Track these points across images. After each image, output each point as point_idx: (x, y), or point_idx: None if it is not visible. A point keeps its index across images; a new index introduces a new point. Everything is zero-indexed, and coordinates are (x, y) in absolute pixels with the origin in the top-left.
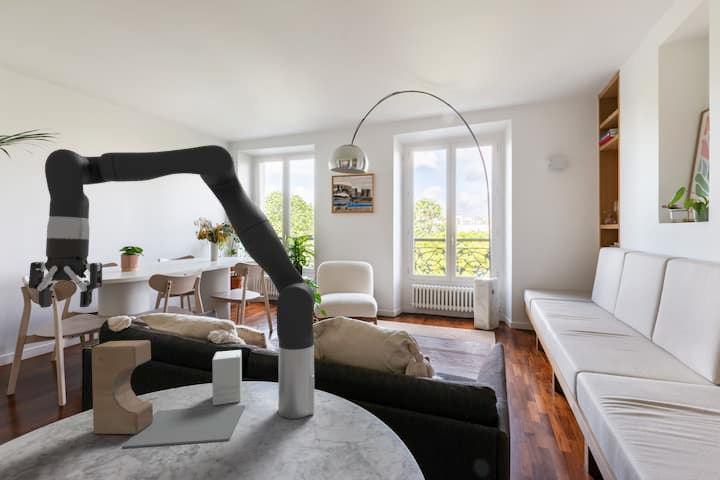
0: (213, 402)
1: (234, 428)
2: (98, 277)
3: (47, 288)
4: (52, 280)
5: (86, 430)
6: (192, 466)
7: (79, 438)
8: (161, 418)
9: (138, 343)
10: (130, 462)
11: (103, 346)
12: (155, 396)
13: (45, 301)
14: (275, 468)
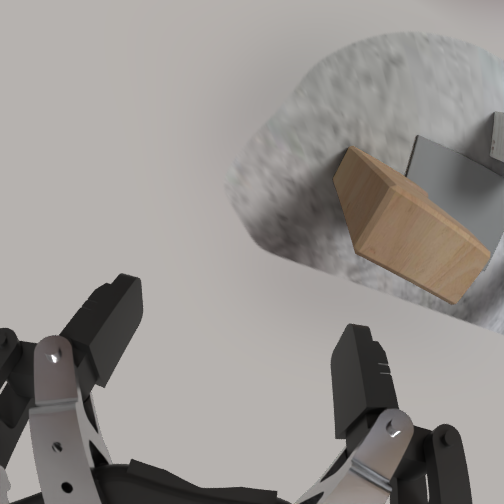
0: (493, 157)
1: (495, 247)
2: (446, 499)
3: (82, 379)
4: (99, 455)
5: (315, 158)
6: (445, 303)
7: (314, 185)
8: (427, 173)
9: (466, 282)
10: (394, 277)
11: (389, 266)
12: (397, 52)
13: (127, 330)
14: (490, 323)
